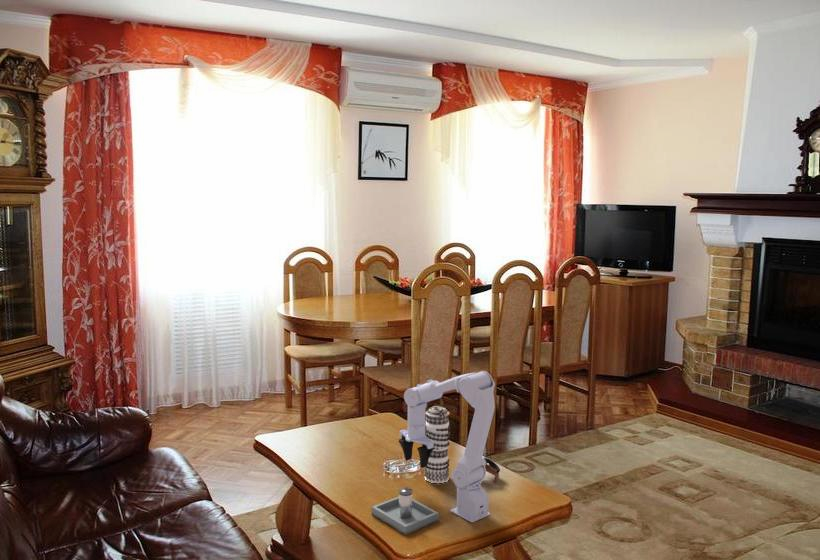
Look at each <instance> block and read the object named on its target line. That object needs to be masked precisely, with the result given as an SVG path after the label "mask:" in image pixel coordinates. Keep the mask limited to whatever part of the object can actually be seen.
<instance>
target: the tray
mask: <svg viewBox="0 0 820 560" xmlns="http://www.w3.org/2000/svg"><path fill="white" fill-rule="evenodd" d="M371 515H372V516H374V517H375V518H377V519H378V520H380V521H381V522H384V523H385V524H387V525H388V526H390V527H392V528H394V530H396V531H398V532H400V533H402V534H403V535H405V536H407V535H409V534H411V533H413V532H416V531H418V530H420V529H423V528H425V527H428V526H430V525H432V524H435V523H437V522H439V521H440V512H438V511H436V510H434V509H432V508H430V507H429V506H427V505H425V504H423V503H421V502H419V501H417V500H415V499H414V498H412V517H411V518H408V519H403V518H400V517H399V496H396V497H394V498H391V499H389V500H386V501H383V502H381V503H378V504H375V505H373V506H371Z"/></svg>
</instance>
